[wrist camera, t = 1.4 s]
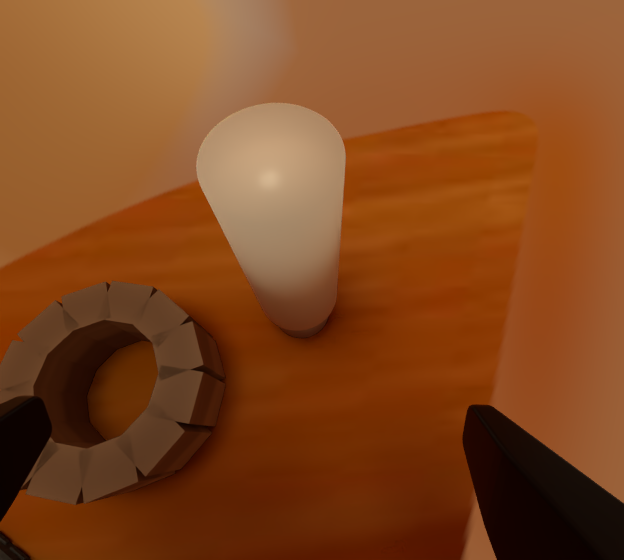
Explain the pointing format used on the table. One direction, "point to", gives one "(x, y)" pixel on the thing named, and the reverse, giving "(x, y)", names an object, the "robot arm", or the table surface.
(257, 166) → the tapered rounded pillar
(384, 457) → the table surface
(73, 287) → the table surface
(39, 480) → the segmented block ring
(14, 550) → the phone
